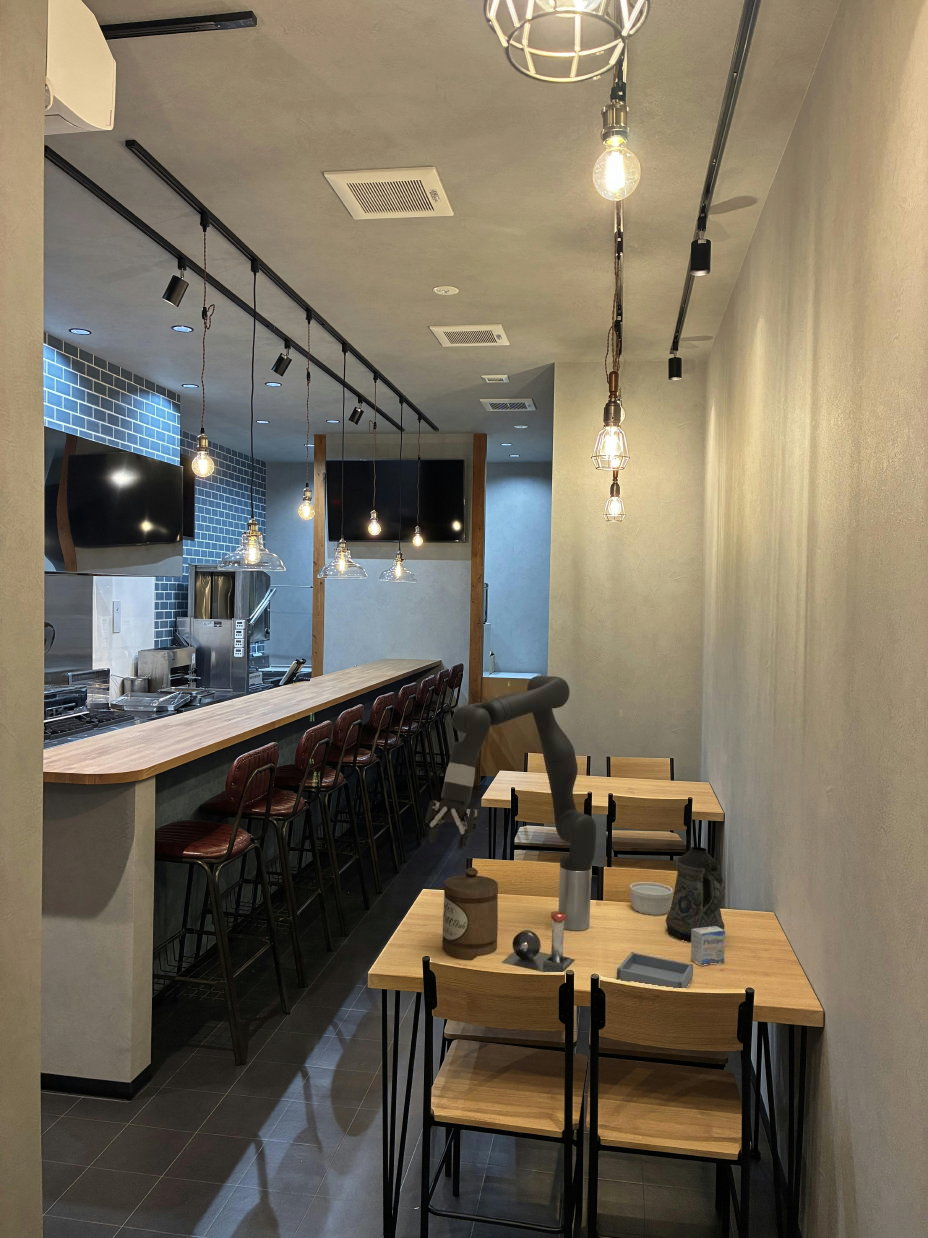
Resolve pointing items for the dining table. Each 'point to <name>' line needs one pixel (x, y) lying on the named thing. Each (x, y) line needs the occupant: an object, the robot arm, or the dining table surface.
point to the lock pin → (557, 936)
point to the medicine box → (707, 945)
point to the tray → (655, 971)
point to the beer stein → (695, 894)
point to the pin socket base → (533, 954)
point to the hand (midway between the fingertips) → (446, 846)
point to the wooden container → (470, 915)
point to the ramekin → (651, 898)
